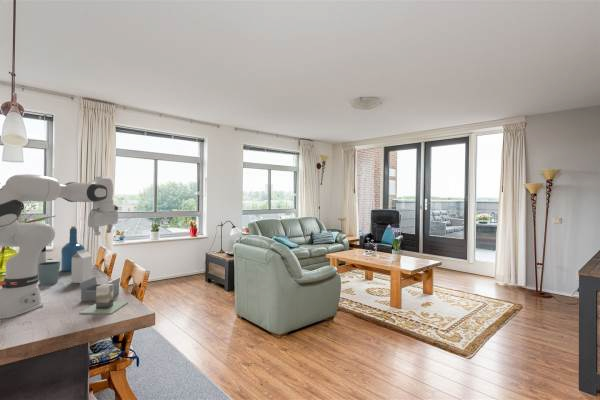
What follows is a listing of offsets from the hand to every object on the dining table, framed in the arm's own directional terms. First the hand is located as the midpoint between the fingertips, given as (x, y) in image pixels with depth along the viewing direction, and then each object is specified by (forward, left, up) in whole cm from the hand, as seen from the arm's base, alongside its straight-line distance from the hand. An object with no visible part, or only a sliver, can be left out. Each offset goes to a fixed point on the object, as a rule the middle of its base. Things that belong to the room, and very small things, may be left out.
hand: (103, 234), depth 167 cm
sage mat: (-21, -13, -32) cm, 40 cm away
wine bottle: (+54, +51, -32) cm, 81 cm away
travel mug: (+31, +56, -32) cm, 72 cm away
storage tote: (-5, -2, -32) cm, 32 cm away
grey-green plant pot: (+20, +42, -32) cm, 56 cm away
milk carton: (+24, +26, -32) cm, 48 cm away
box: (-21, -13, -31) cm, 40 cm away
